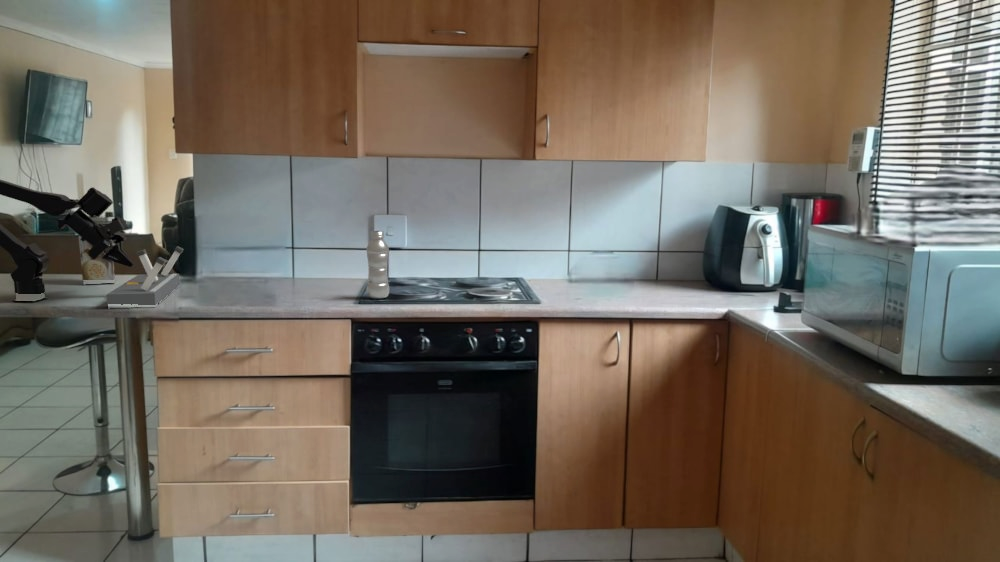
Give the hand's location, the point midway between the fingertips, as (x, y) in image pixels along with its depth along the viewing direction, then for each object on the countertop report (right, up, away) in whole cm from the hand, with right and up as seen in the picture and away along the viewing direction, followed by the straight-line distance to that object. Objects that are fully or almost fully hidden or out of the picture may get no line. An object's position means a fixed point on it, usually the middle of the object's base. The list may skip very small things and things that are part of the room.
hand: (132, 265), depth 210 cm
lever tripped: (+6, -4, +2) cm, 7 cm away
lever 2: (+3, -2, +15) cm, 15 cm away
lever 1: (+9, -7, -10) cm, 15 cm away
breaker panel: (+3, -9, +2) cm, 10 cm away
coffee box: (-23, -5, +24) cm, 34 cm away
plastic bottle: (+71, -10, +4) cm, 72 cm away
